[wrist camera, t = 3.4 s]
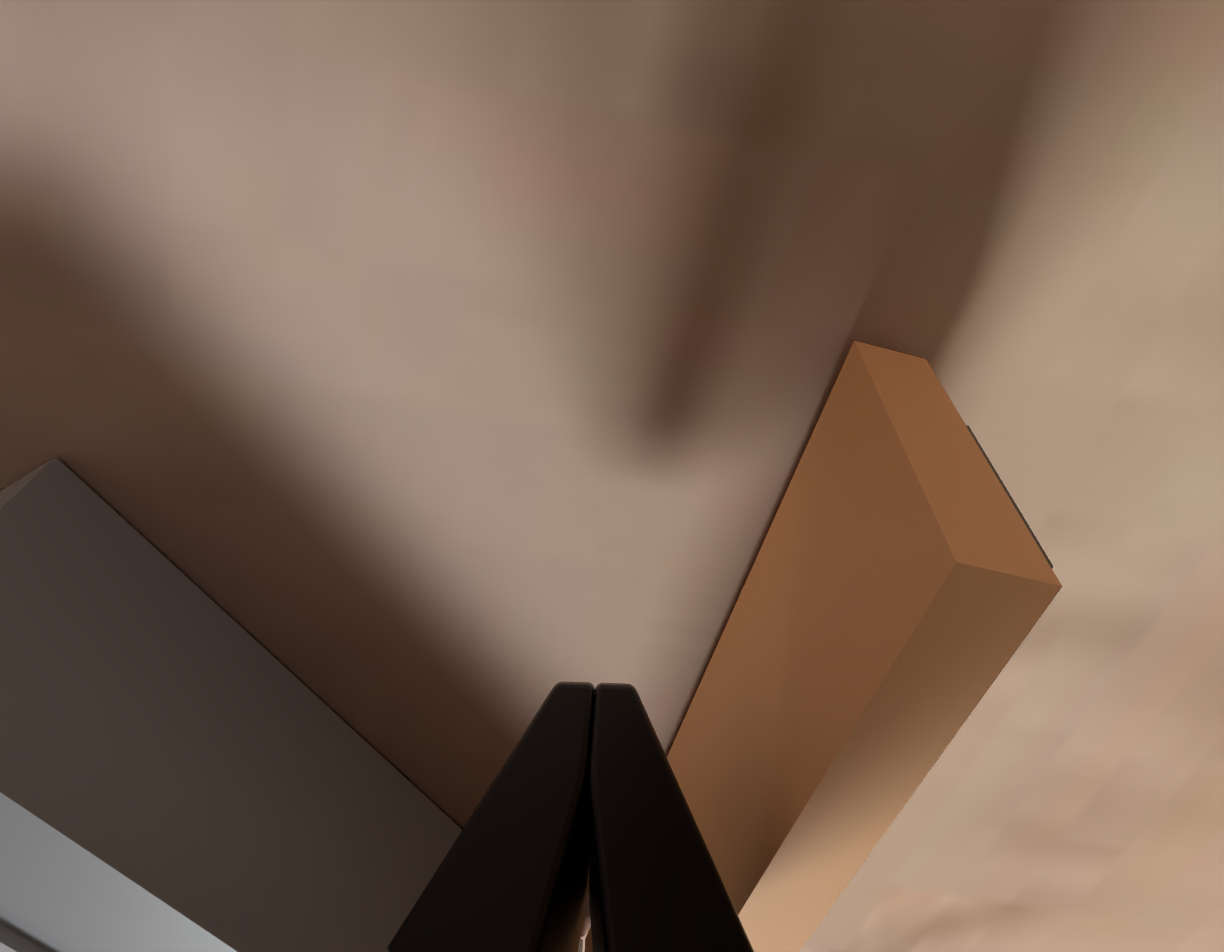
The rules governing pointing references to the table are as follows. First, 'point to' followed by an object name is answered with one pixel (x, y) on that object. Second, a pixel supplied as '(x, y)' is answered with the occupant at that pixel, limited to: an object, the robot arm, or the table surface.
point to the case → (176, 762)
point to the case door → (854, 644)
